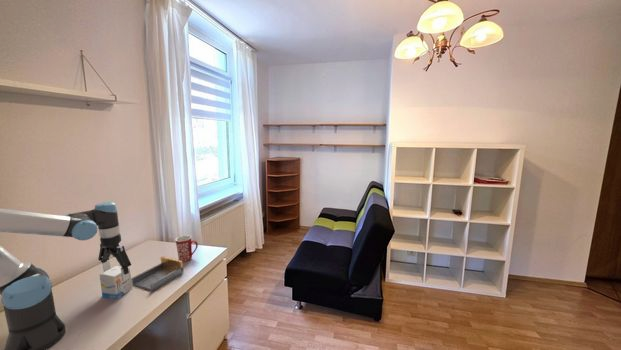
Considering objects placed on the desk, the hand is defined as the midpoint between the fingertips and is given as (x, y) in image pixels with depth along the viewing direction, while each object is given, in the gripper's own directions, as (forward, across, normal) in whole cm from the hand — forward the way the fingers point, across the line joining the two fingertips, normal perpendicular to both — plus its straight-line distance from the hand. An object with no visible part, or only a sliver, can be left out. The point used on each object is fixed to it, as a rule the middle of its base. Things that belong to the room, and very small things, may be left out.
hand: (116, 277), depth 120 cm
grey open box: (+8, -7, -16) cm, 19 cm away
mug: (+9, -4, -38) cm, 39 cm away
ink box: (+8, 0, 0) cm, 8 cm away
